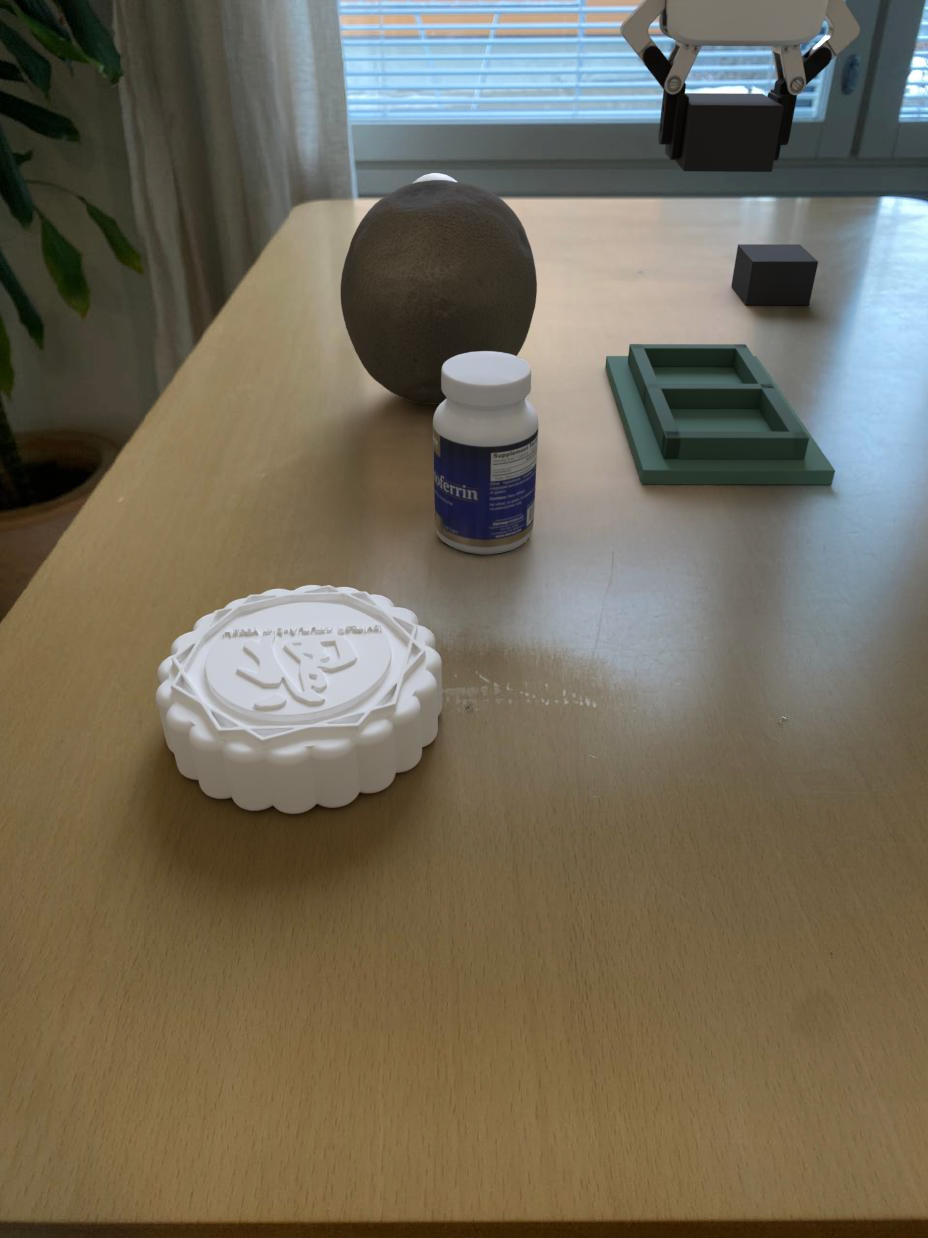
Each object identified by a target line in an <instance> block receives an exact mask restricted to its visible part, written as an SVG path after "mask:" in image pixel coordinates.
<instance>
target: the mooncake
mask: <svg viewBox="0 0 928 1238" xmlns="http://www.w3.org/2000/svg"><path fill="white" fill-rule="evenodd" d="M419 622H420V621H419V618H418V616H417V615H416V614H415V613H414V612H413V611H412V610H410V609H408V608H405V607H402V606H401V607H400V606H395V605H394V603H393V602H392V600H390V598H388V597H386V596H384V595H381V594H375V593H374V594H373V593H371V594H369V593H368V591H359V590H358V589H356V588H354V587H349V586H338V587H335V586H332V585H330V584H327V585H323V586H321V585H317V584H306V585H303V586H299V587H297V588H295V589H293V590H289V589H286V588H274V589H273V588H272V589H268V590H266V591H263V592H262V593H260V594H249V595H248V596H246V597H243V598H238V599H234V600H232V601H231V602H229V603H228V604H226V605H225V606H224V608H220V609H215V610H214V611H213V612H212V613H208V614H206V615H203V616H201V618H199V619H198V620H197V621H196V622H194V625H193V628H192V631H189V632H185V633H184V634H181V635H180V636H178V637H177V638H175V640H174V641H173V642H172V644H171V647H170V656H168V657H166V658H165V659H163V661H162V662H161V663H160V664H159V666H158V669H157V679H158V683H159V686H158V687H157V689H156V692H155V702H156V706H157V710H158V711H157V712H158V714H159V718H160V723H161V726H162V730H163V734H164V738H165V743H166V745H167V747H168V749H169V751H171V753H173V754H174V759H175V763H176V767H177V769H178V771H179V773H180V774H181V775H182V776H183V777H185V778H187V779H190V780H193V781H198V784H199V788H200V790H202V792H203V793H204V794H205V795H206V796H208V797H210V798H213V799H216V800H227V799H232V800H233V802H234V803H235V804H236V805H237V806H238V807H239V808H241V809H242V810H246V811H252V812H255V811H256V812H257V811H263V810H267V809H269V808H271V807H274V808H275V809H276V810H277V811H279V812H282V813H284V814H289V815H298V814H303V813H305V812H307V811H309V810H311V809H313V808H314V807H315V806H316V805H319V806H321V807H324V808H330V809H332V808H333V809H336V808H341V807H344V806H346V805H349V804H350V803H352V802H353V801H354V800H355V799H357V797H358V795H359V794H360V793H361V794H375V793H379V792H381V791H384V790H385V789H387V788H388V787H390V785H392V783H393V782H394V779H395V778H396V774H399V773H405V772H408V771H410V770H412V769H413V768H415V767H416V766H417V765H418V764H419V763H420V761H421V759H422V755H423V748H425V747H428V746H429V745H430V744H431V743H433V741H434V740H435V739H436V737H437V735H438V734H439V733H438V732H439V716H440V714H441V713H442V710H443V662H442V661H443V660H442V657H441V655H440V654H439V652H438V651H437V650H436V638H435V635H434V634H433V632H432V631H431V630H430V629H429V628H427V627H425V626H423V625H421V624H420V623H419Z"/></svg>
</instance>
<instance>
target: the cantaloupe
mask: <svg viewBox="0 0 928 1238" xmlns="http://www.w3.org/2000/svg"><path fill="white" fill-rule="evenodd" d="M526 232H527V231H526V229H525V227H524V225H523V224H522V221H521V220H520V218H519V217H518V215H517V214H516V212H515V211H514V210H513V209H512V208H511V207H510V206H509V205H508V204H507V202H506V201H504V199H502V198H500V197H499V196H498V195H497V194H495V193H494V192H493V191H492V192H491V191H489V190H488V189H486V188H483V187H480V186H476V185H474V184H469V183H466V182H459V181H457V182H454V181H448V180H430V181H422V182H416V183H413V182H412V183H409V184H405V185H404V186H401V187H399V188H397V189H396V190H394V191H392V192H391V193H389V194H387V195H386V196H384V197H382V198H380V199H379V200H378V201H376V203H374V204H373V205H372V207H370V209H369V210H368V211H367V213H366V214H365V215H364V216H363V217H362V219H361V221H360V222H359V224H358V226H357V227H356V229H355V232H354V234H353V236H352V238H351V240H350V244H349V248H348V251H347V253H346V256H345V259H344V263H343V267H342V272H341V279H340V306H341V312H342V317H343V321H344V325H345V327H346V331H347V334H348V337H349V340H350V342H351V345H352V346H353V347H352V348H353V349H354V351H355V353H356V355H357V358H358V359H359V361H360V363H361V365H362V366H363V368H364V370H365V371H366V372H367V373H368V375H369V376H370V377H371V378H372V379H373V380H374V381H375V382H376V383H378V384H379V385H380V386H382V387H383V388H384V389H386V390H388V391H389V392H390V393H392V394H394V395H395V396H397V397H399V398H401V399H404V400H406V401H408V402H410V403H411V402H412V403H415V404H421V405H440V404H441V403H442V402H443V401H444V400H445V399H446V396H445V395H444V393H443V392H442V389H441V370H442V366H443V364H444V363H445V362H446V361H447V360H448V359H450V358H452V357H454V356H457V355H460V354H464V353H469V352H478V351H493V352H502V353H507V354H511V355H515V356H517V357H518V355H519V353H520V352H521V350H522V349H523V346H524V344H525V342H526V340H527V337H528V334H529V332H530V328H531V324H532V321H533V317H534V312H535V309H536V303H537V295H538V294H537V293H538V281H537V279H538V278H537V269H536V265H535V259H534V254H533V250H532V246H531V244H530V243H531V242H530V241H529V238H528V235H527V233H526Z"/></svg>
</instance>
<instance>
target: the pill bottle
mask: <svg viewBox="0 0 928 1238" xmlns="http://www.w3.org/2000/svg"><path fill="white" fill-rule="evenodd" d="M441 389H442V392H443V393H444V395H445V396H446V399H445V400H444V401H443V402H442V403H441V404H438V406H437V407H436V409H435V411H434V413H433V418H432V457H433V459H432V460H433V463H432V464H433V468H432V469H433V471H432V473H433V509H434V512H433V513H434V516H433V517H434V527H435V532H436V535H437V536H438V537H439V538H440V540H441V541H442V542H443V543H444V544H446V545H448V546H449V547H451V548H453V549H455V550H458V551H461V552H463V553H464V552H465V553H468V554H474V555H475V554H476V555H497V554H503V553H506V552H509V551H512V550H515V549H517V548H518V547H521V546H522V545H524V543H526V542H527V540H528V539H529V538H530V536H531V535H532V532H533V529H534V521H535V507H536V505H535V504H536V483H537V464H538V443H539V440H538V439H539V416H538V414H537V411H536V410H535V408H534V406H533V405H532V404H531V402H529V401H528V400H526V399H527V397H528V396H529V395H530V393H531V390H532V367H531V365H530V364H529V363H528V361H526V360H525V359H524V358H522V357H519V356H518V355H517V356H515V355H511V354H507V353H502V352H493V351H478V352H469V353H464V354H460V355H457V356H454V357H452V358H450V359H448V360H447V361H446V362H445V363H444V364H443V366H442V370H441Z"/></svg>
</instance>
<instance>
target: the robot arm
mask: <svg viewBox="0 0 928 1238" xmlns="http://www.w3.org/2000/svg"><path fill="white" fill-rule="evenodd" d="M656 19H658V26H659V31H660V32H661V33H662V34H663V35H665V36H666V37H668V38H670V39H672V40H674V41H675V42H674V45H673V47H672V49H671V51H670V52H669V55H668V58H667V57H666V55H665V54H664V53H663V52H662V50H661V49H660V48H659V47H658V46H657V44H656V43H655V42H654V41H653V39H652V38H651V36H650V34H649V29H650V27H651V25H652V23H653V22H654V21H655V20H656ZM824 22H826V23H827V26H828V28H827V32H826V34H825V35H824V36H823V37H822V38H821V40H819V42H818V43H816V44H815V45H813V46H811V47H810V48H809V49H808V50H807V51H805V53H804V54H802V48H801V45H803V44H806V43H809V42H811V41H812V40H814V39H816V38H817V37H818V35H819V34H820V32H821V30H822V27H823V25H824ZM619 32H620V35H621V37H622V38H623V39H624V40H625V42H626V43H627V44H628V46H630V48H631V49H632V50H633V52H634V53H635V54H636V56H637V57H638V58H639V59H640V61H641V62H642V63H643V65H644V66H645V67H646V69H647V70H648V71H649V73H650V74H651V75H652V76H653V78H654V79H655V81H656V82H657V83H658V84H659V85H660V87H661V89H663V91H662V101H661V111H660V117H659V127H658V139H657V140H658V144H659V145H662V146H663V145H665V148H664V154H665V155H666V156H667V158H669V160H670V161H675V160H678V159H679V158H681V155H682V147H683V139H684V131H685V123H686V115H687V107H688V102H689V96H687V95H686V94H685V93H686V87H687V83H686V81H687V78H688V75H689V74H690V72H691V70H692V69H693V66H694V64H695V62H696V60H697V57H698V56H699V53H700V51H701V48H702V47H707V46H708V47H770V49H771V54H772V60H773V64H774V65H773V66H774V70H775V77H776V80H775V82H774V87H773V89H772V88H771V89H770V91H769V92H768V93H767V95H766V96H767V97H769V98H770V99H772V100H774V101H776V102H777V103H779V104H781V105H783V112H782V118H781V123H780V129H779V135H778V140H777V146H776V152H775V157H774V162H775V161H776V162H777V161H778V160H779V158H780V153H781V148H782V146H787V145H788V144H789V141H790V138H791V137H790V136H791V132H792V125H793V121H794V115H795V110H796V105H797V100H798V99H797V98H798V95H800V94H802V93H803V92H804V90H805V89H806V86H808V84H809V83H810V82H812V81H813V79H814V78H816V77H817V76H818V75H819V74H820V73H822V71H823V70H824V69H825V68H826V67H828V66H829V64H830V63H831V61H832V60H833V59H834V58H835V57H837V56H838V55H840V54H841V52H843V51H844V50H845V48H847V47H848V46H849V45H850V44H851V43H852V42H853V41H855V40H856V39H857V38H858V37H859V36H860V32H861V27H860V24H859V22H858V21H857V20H856V18H855V16H854V15H853V13H852V11H851V10H850V9H849V6H848V5H847V4H846V2H845V0H642V1H641V2H640V3H639V5H637V7H636V8H635V9H633V11H631V13H630V15H628V17H626V19H624V21H623V22H622V23H621V25H620V28H619Z"/></svg>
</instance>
